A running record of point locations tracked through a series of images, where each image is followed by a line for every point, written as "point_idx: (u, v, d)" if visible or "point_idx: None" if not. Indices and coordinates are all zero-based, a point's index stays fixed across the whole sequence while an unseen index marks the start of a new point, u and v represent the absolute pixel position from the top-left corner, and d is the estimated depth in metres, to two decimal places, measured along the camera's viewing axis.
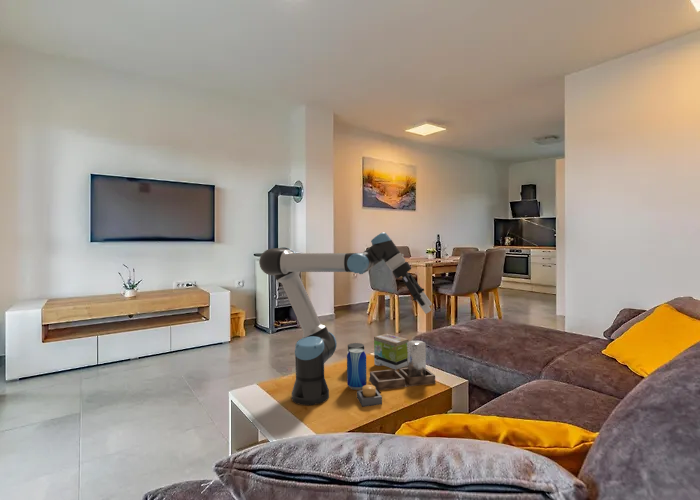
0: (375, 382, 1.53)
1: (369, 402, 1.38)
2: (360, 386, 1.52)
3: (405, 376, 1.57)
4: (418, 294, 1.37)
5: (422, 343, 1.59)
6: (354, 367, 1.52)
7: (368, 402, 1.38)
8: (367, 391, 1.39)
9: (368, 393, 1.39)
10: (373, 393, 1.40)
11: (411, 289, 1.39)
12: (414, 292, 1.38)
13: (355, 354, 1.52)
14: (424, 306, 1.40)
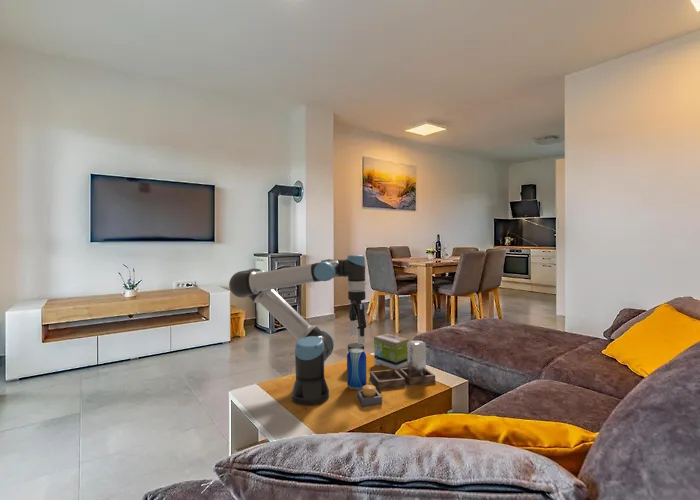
0: (375, 382, 1.53)
1: (369, 402, 1.38)
2: (360, 386, 1.52)
3: (405, 376, 1.57)
4: None
5: (422, 343, 1.59)
6: (354, 367, 1.52)
7: (368, 402, 1.38)
8: (367, 391, 1.39)
9: (368, 393, 1.39)
10: (373, 393, 1.40)
11: (362, 318, 1.47)
12: (363, 322, 1.46)
13: (355, 354, 1.52)
14: (361, 337, 1.48)
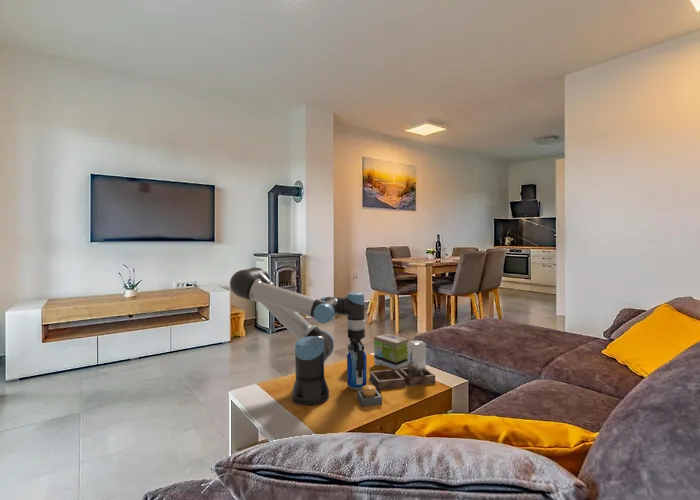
0: (375, 382, 1.53)
1: (369, 402, 1.38)
2: (360, 386, 1.52)
3: (405, 376, 1.57)
4: (363, 368, 1.49)
5: (422, 343, 1.59)
6: (354, 367, 1.52)
7: (368, 402, 1.38)
8: (367, 391, 1.39)
9: (368, 393, 1.39)
10: (373, 393, 1.40)
11: (360, 360, 1.49)
12: (361, 364, 1.49)
13: (355, 354, 1.52)
14: (359, 378, 1.52)
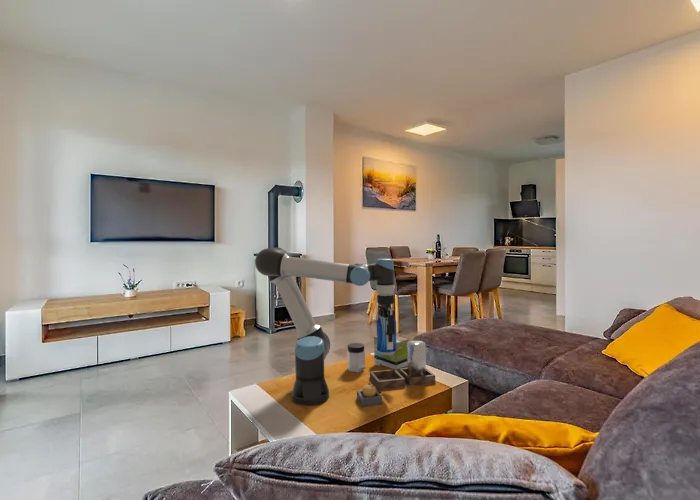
0: (375, 382, 1.53)
1: (369, 402, 1.38)
2: (391, 351, 1.52)
3: (405, 376, 1.57)
4: (394, 332, 1.49)
5: (422, 343, 1.59)
6: (384, 332, 1.52)
7: (368, 402, 1.38)
8: (367, 391, 1.39)
9: (368, 393, 1.39)
10: (373, 393, 1.40)
11: (391, 324, 1.49)
12: (392, 328, 1.49)
13: (385, 319, 1.52)
14: (390, 343, 1.52)
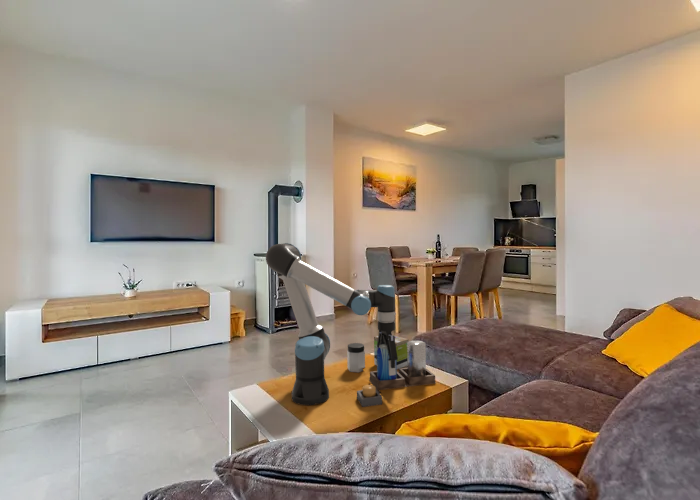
0: (375, 382, 1.53)
1: (369, 402, 1.38)
2: None
3: (405, 376, 1.57)
4: (397, 358, 1.47)
5: (422, 343, 1.59)
6: (384, 363, 1.52)
7: (368, 402, 1.38)
8: (367, 391, 1.39)
9: (368, 393, 1.39)
10: (373, 393, 1.40)
11: (393, 350, 1.48)
12: (394, 354, 1.47)
13: (385, 349, 1.53)
14: (392, 368, 1.50)
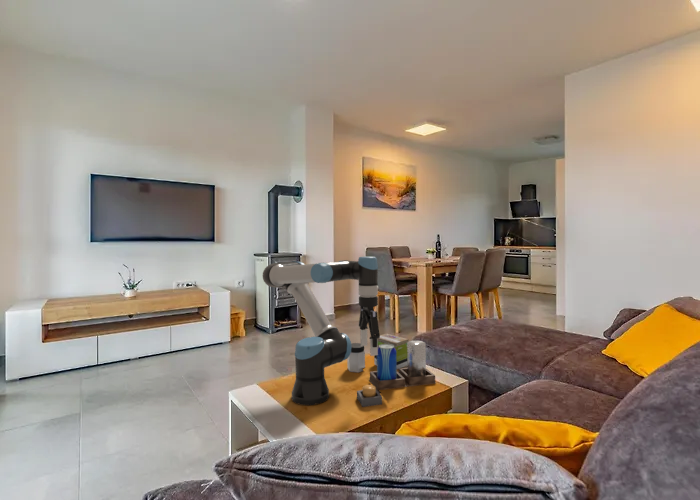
0: (375, 382, 1.53)
1: (369, 402, 1.38)
2: None
3: (405, 376, 1.57)
4: (379, 336, 1.32)
5: (422, 343, 1.59)
6: (384, 363, 1.52)
7: (368, 402, 1.38)
8: (367, 391, 1.39)
9: (368, 393, 1.39)
10: (373, 393, 1.40)
11: (375, 327, 1.33)
12: (376, 332, 1.33)
13: (385, 349, 1.53)
14: (374, 348, 1.35)
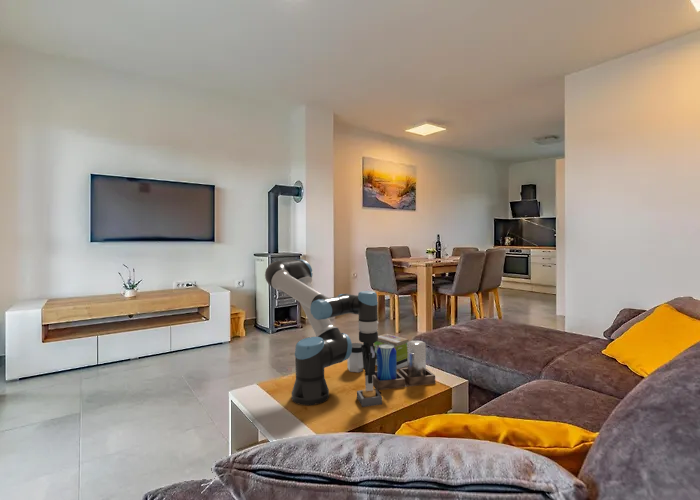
0: (375, 382, 1.53)
1: (369, 402, 1.38)
2: None
3: (405, 376, 1.57)
4: (374, 374, 1.38)
5: (422, 343, 1.59)
6: (384, 363, 1.52)
7: (368, 402, 1.38)
8: (367, 394, 1.39)
9: (368, 396, 1.39)
10: (373, 396, 1.40)
11: (371, 366, 1.37)
12: (372, 370, 1.38)
13: (385, 349, 1.53)
14: (369, 384, 1.41)
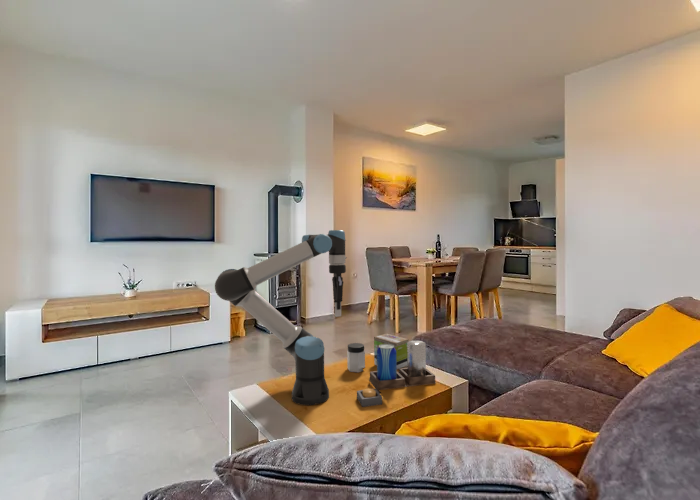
0: (375, 382, 1.53)
1: (369, 402, 1.38)
2: None
3: (405, 376, 1.57)
4: None
5: (422, 343, 1.59)
6: (384, 363, 1.52)
7: (368, 402, 1.38)
8: (367, 395, 1.39)
9: None
10: None
11: (339, 293, 1.58)
12: (340, 297, 1.58)
13: (385, 349, 1.53)
14: (338, 310, 1.62)
